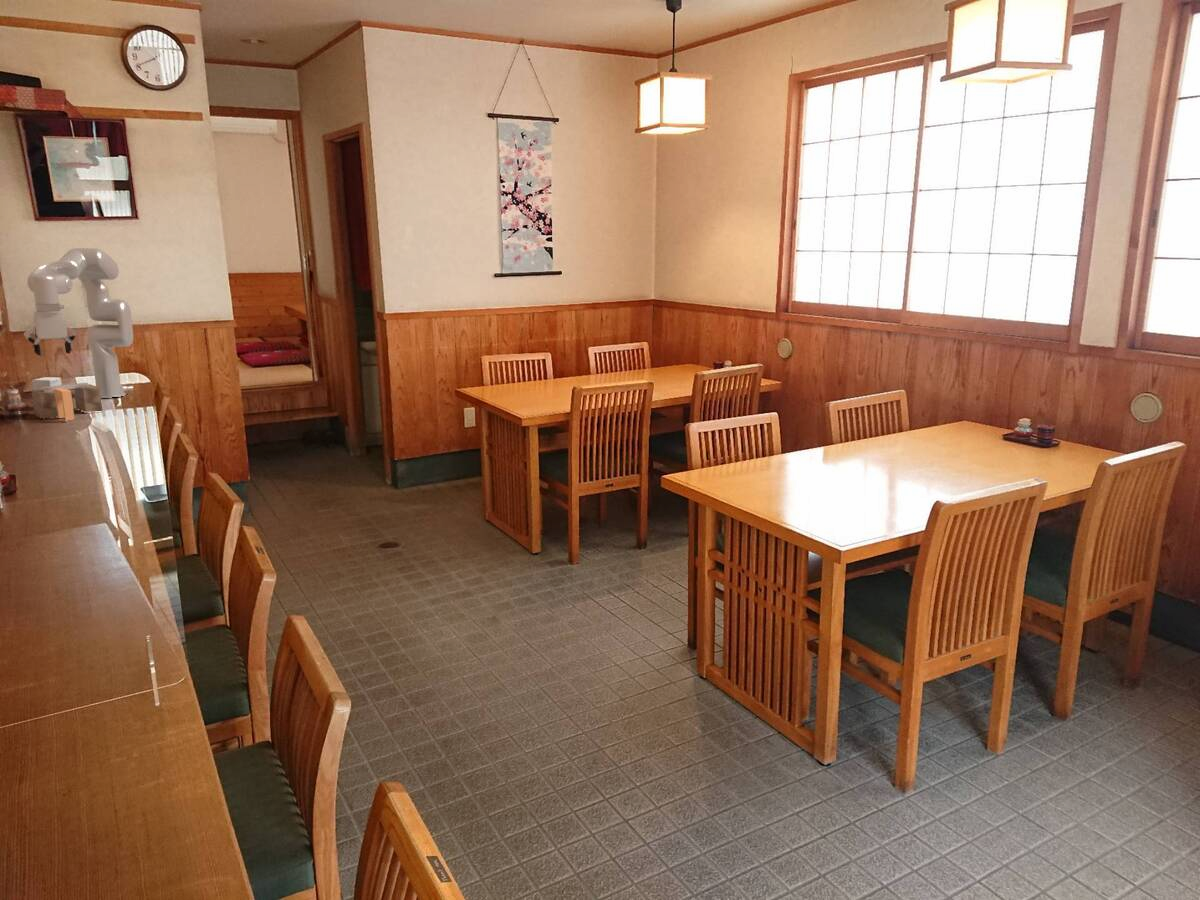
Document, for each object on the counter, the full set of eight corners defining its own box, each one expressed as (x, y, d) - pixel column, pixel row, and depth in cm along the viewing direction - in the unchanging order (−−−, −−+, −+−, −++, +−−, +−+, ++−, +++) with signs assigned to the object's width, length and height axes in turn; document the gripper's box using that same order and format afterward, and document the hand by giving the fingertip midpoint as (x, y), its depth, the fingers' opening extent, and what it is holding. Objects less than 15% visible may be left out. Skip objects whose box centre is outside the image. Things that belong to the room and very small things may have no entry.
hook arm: (86, 386, 338) (86, 382, 338) (88, 386, 337) (88, 383, 337) (42, 390, 326) (41, 387, 326) (43, 391, 325) (43, 387, 325)
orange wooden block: (66, 417, 327) (62, 387, 324) (74, 421, 322) (70, 390, 319) (58, 418, 325) (54, 388, 322) (66, 422, 320) (62, 391, 317)
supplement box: (53, 411, 338) (49, 380, 335) (35, 410, 338) (31, 379, 335) (65, 407, 345) (61, 377, 342) (47, 406, 345) (43, 376, 342)
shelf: (92, 408, 345) (89, 384, 343) (102, 411, 339) (99, 387, 337) (34, 415, 330) (31, 390, 327) (43, 419, 323) (40, 393, 321)
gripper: (71, 307, 321) (76, 351, 325) (18, 308, 309) (24, 354, 313) (77, 308, 316) (82, 353, 320) (23, 309, 304) (29, 356, 308)
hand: (53, 354), depth 317 cm, fingers open, 9 cm apart
